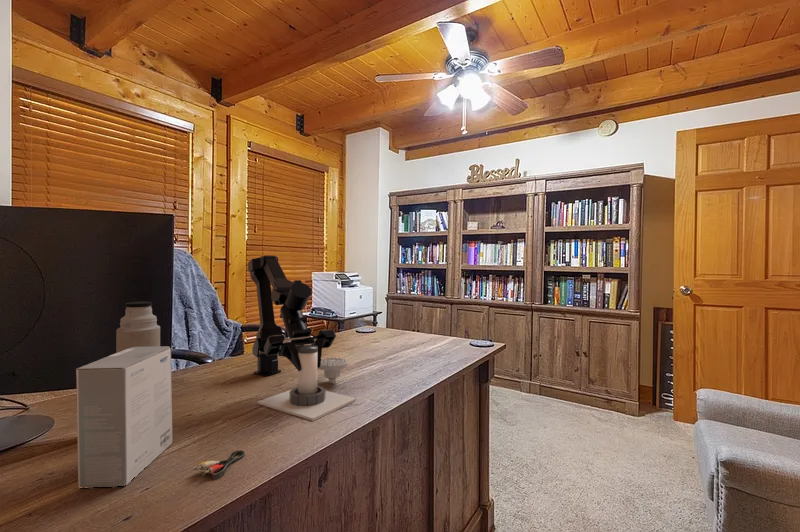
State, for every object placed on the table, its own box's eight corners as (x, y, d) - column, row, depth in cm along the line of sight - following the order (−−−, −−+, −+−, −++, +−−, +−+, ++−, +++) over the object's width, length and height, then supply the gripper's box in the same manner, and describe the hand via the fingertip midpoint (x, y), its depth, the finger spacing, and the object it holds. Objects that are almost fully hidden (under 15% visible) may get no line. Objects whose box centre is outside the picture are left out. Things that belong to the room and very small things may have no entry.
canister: (295, 395, 99) (295, 349, 99) (300, 389, 104) (300, 344, 104) (315, 396, 99) (315, 349, 99) (319, 389, 104) (319, 345, 104)
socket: (257, 403, 100) (257, 392, 100) (303, 387, 114) (303, 377, 114) (313, 421, 89) (313, 408, 89) (356, 400, 103) (356, 389, 103)
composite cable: (239, 453, 75) (239, 441, 75) (256, 459, 73) (256, 446, 73) (190, 478, 66) (190, 464, 66) (208, 486, 64) (208, 471, 64)
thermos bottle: (142, 419, 90) (143, 299, 90) (168, 424, 87) (168, 301, 87) (107, 433, 82) (107, 302, 82) (134, 439, 80) (134, 304, 79)
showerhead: (311, 362, 114) (322, 354, 124) (311, 387, 114) (321, 377, 124) (343, 363, 113) (350, 355, 123) (343, 388, 113) (350, 378, 123)
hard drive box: (133, 445, 77) (133, 346, 77) (173, 443, 78) (173, 345, 78) (74, 490, 62) (75, 366, 62) (125, 488, 62) (125, 366, 62)
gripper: (316, 334, 119) (332, 378, 111) (254, 341, 108) (266, 391, 99) (327, 311, 113) (345, 357, 104) (263, 316, 102) (277, 367, 93)
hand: (309, 368), depth 100 cm, fingers closed on canister, 5 cm apart
